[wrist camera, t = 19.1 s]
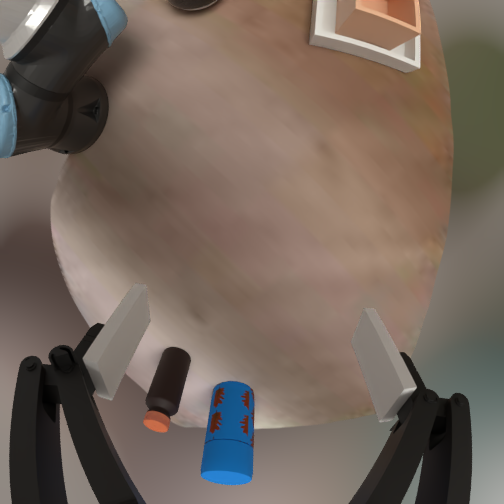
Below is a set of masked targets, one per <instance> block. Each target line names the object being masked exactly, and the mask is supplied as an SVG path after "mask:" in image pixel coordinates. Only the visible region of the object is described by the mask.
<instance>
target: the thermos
mask: <svg viewBox="0 0 504 504" xmlns="http://www.w3.org/2000/svg"><path fill="white" fill-rule="evenodd" d="M253 445H254V393H253V390H252V389H251V388H250V387H249V386H248V385H246V384H244V383H240V382H234V381H228V382H222V383H220V384H218V385H217V386H216V387H215V388H214V391H213V395H212V400H211V406H210V412H209V419H208V425H207V432H206V438H205V445H204V451H203V458H202V465H201V476H202V478H204V479H206V480H208V481H211V482H214V483H218V484H225V485H240V484H246V483H248V482H250V481H251V480H252V474H253Z"/></svg>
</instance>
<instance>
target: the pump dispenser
mask: <svg viewBox="0 0 504 504" xmlns="http://www.w3.org/2000/svg"><path fill="white" fill-rule="evenodd" d="M166 1H167V2H168V3H169V4H170V5H172V6H174V7H176V8H179V9H184V10H199V9H203V8H206V7H208V6H210V5H212V4H214V3H215V2H216V1H217V0H166Z"/></svg>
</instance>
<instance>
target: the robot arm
mask: <svg viewBox="0 0 504 504" xmlns="http://www.w3.org/2000/svg"><path fill="white" fill-rule="evenodd" d="M127 21H128V19H127V16H126V14H125V12H124V11H123V9H122V8H121V7H120V6H119V4H118V3H117V2H116V1H115V0H0V44H1V45H2V49H3V54H4V58H5V59H7V60H11V62H10V63H9V65H8V67H7V68H6V70H5V72H4V73H3V74H1V73H0V158H8V157H11V156H15V155H19V154H23V153H27V152H31V151H36V150H40V149H46V148H48V149H50V150H53V151H56V152H59V153H62V154H73V153H78V152H81V151H84V150H85V149H87V148H88V147H90V146H91V145H92V144H93V143H94V142H95V141H96V140H97V138H98V137H99V136H100V134H101V132H102V130H103V128H104V126H105V123H106V119H107V115H108V97H107V94H106V91H105V89H104V87H103V86H102V84H101V83H100V82H99V81H97V80H96V79H94V78H91V77H87V76H83V75H84V74H85V72H86V71H87V70H88V69H89V68H90V66H91V65H92V64H93V63H94V62H95V60H96V59H97V58H98V57H99V56H100V55H101V54H102V52H103V51H104V50H105V49H106V48H107V47H108V48H109V47H110V46H111V44H112V42H113V41H114V40H115V38H116V37H117V36H118V35H119V34H120V33H121V32H122V31H123V30H124V29H125V27H126V25H127ZM149 323H150V314H149V304H148V294H147V285H146V284H139V283H135V284H134V285H133V286H132V288H131V289H130V290H129V292H128V293H127V295H126V296H125V297H124V299H123V300H122V301H121V303H120V304H119V306H118V307H117V308H116V310H115V311H114V313H113V314H112V315H111V317H110V318H109V320H108V321H107V323H106V324H105V325H104V324H100V323H97V324H95V325H94V326H92V327H91V328H90V329H89V330H88V332H87V333H86V335H85V336H84V338H83V339H82V341H81V342H80V343H79V345H78V346H77V347H76V349H75V350H74V351H73V349H72V348H70V347H69V346H66V345H59V346H57V347H55V348H53V349H52V350H51V351H50V353H49V360H50V362H51V365H47V364H42V362H41V360H40V359H39V358H38V357H36V356H29V357H27V358H25V359H24V360H23V361H22V362H21V364H20V367H19V372H18V377H17V383H16V388H15V395H14V401H13V409H12V419H11V431H10V454H9V457H10V458H9V459H10V460H9V465H10V466H9V467H10V488H11V499H12V504H68V502H67V496H66V490H65V484H64V477H63V469H62V459H61V447H60V446H61V445H60V421H59V420H60V414H59V413H60V404H62V407H63V410H64V414H65V418H66V421H67V425H68V428H69V431H70V434H71V437H72V440H73V443H74V446H75V449H76V451H77V454H78V457H79V459H80V462H81V464H82V467H83V469H84V471H85V474H86V476H87V479H88V481H89V483H90V485H91V487H92V490H93V492H94V494H95V495H96V498H97V500H98V502H99V503H100V504H146V503H145V501H144V500H143V498H142V496H141V495H140V493H139V492H138V490H137V488H136V487H135V485H134V483H133V482H132V480H131V478H130V476H129V474H128V473H127V471H126V469H125V467H124V466H123V464H122V462H121V460H120V458H119V456H118V454H117V452H116V450H115V448H114V445H113V443H112V441H111V439H110V437H109V435H108V433H107V430H106V428H105V425H104V423H103V421H102V419H101V416H100V413H99V411H98V408H97V406H96V403H95V400H94V398H93V396H92V395H93V393H94V391H95V390H96V392H97V394H98V396H99V397H102V398H105V399H108V400H112V399H113V397H114V395H115V392H116V390H117V388H118V386H119V384H120V382H121V380H122V377H123V375H124V373H125V371H126V369H127V367H128V365H129V363H130V361H131V359H132V357H133V355H134V353H135V351H136V349H137V347H138V345H139V343H140V341H141V339H142V337H143V335H144V333H145V331H146V329H147V327H148V325H149ZM351 343H352V346H353V349H354V351H355V354H356V357H357V359H358V362H359V365H360V367H361V370H362V373H363V376H364V378H365V381H366V384H367V387H368V390H369V393H370V396H371V399H372V401H373V404H374V407H375V410H376V413H377V416H378V419H379V422H385V421H391V420H392V419H393V418H394V417H395V415H396V414H397V415H398V418H399V420H398V421H397V422H396V423H395V425H394V426H393V427H392V428H391V429H390V431H392V432H391V434H390V436H389V438H388V440H387V442H386V444H385V446H384V448H383V450H382V451H381V453H380V455H379V457H378V459H377V460H376V462H375V464H374V466H373V467H372V469H371V471H370V472H369V474H368V475H367V477H366V479H365V480H364V482H363V483H362V485H361V486H360V488H359V489H358V491H357V492H356V494H355V495H354V497H353V498H352V500H351V501H350V503H349V504H401V502H402V500H403V498H404V496H405V494H406V492H407V490H408V488H409V486H410V484H411V481H412V479H413V477H414V475H415V473H416V470H417V468H418V465H419V463H420V461H421V458H422V456H423V463H422V469H421V475H420V482H419V486H418V492H417V496H416V501H415V504H469V501H470V491H471V476H472V436H471V435H472V434H471V419H470V408H469V402H468V399H467V398H466V397H465V396H464V395H463V394H460V393H455V394H453V395H452V396H451V398H450V399H445V398H439V396H438V395H437V394H436V393H435V392H434V391H433V390H430V389H426V387H425V385H424V383H423V381H422V379H421V377H420V375H419V374H418V372H417V371H416V368H415V366H414V364H413V362H412V360H411V359H410V357H409V356H408V355H407V354H405V353H404V352H399V351H398V349H397V347H396V345H395V344H394V342H393V340H392V338H391V336H390V334H389V333H388V331H387V329H386V327H385V326H384V324H383V322H382V320H381V319H380V317H379V315H378V313H377V312H376V310H375V308H364V309H363V312H362V315H361V317H360V320H359V322H358V325H357V327H356V330H355V332H354V335H353V337H352V340H351ZM423 453H424V454H423Z"/></svg>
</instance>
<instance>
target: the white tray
mask: <svg viewBox="0 0 504 504" xmlns="http://www.w3.org/2000/svg"><path fill="white" fill-rule="evenodd" d="M336 8H337V0H313V5H312V16H311V27H310V38H309V45H314V46H319V47H324V48H328V49H332V50H336V51H340V52H344V53H348V54H352V55H355V56H358V57H362V58H365V59H368V60H371V61H374V62H377V63H380V64H383V65H386V66H389V67H392V68H394V69H397V70H400V71H402V72H405V73H408V72H411V71H414V70H417V69H420V35H418V36H416V37H414V38H412V39H410V40H409V41H407V42H405V43H403V44H401V45H399V46H397V47H396V48H394V49H392V50H390V51H389V50H386V49H383V48H381V47H378V46H375V45H372V44H369V43H366V42H363V41H359V40H356V39H353V38H349V37H345V36H342V35H338V34H335V25H336Z"/></svg>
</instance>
